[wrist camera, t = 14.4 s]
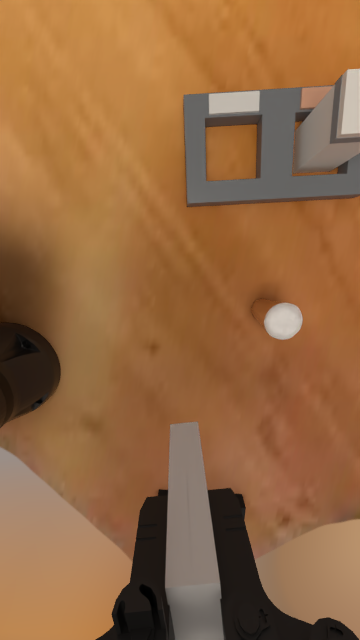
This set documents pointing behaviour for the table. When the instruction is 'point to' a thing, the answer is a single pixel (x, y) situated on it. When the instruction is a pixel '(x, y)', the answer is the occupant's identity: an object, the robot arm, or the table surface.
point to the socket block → (260, 148)
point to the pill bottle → (278, 318)
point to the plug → (330, 128)
